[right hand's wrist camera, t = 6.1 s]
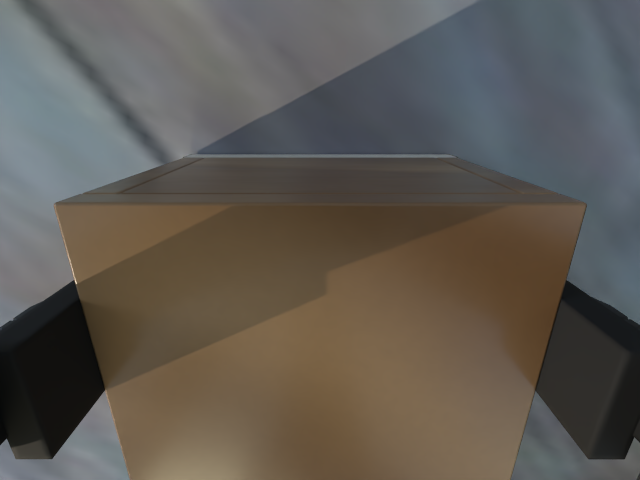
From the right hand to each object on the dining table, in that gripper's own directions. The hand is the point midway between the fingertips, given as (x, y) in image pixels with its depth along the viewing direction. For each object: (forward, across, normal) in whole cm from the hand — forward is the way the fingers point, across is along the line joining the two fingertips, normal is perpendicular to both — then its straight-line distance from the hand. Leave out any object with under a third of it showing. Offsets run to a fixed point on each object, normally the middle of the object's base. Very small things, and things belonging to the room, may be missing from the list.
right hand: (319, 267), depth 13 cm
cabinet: (+4, 0, -6) cm, 7 cm away
